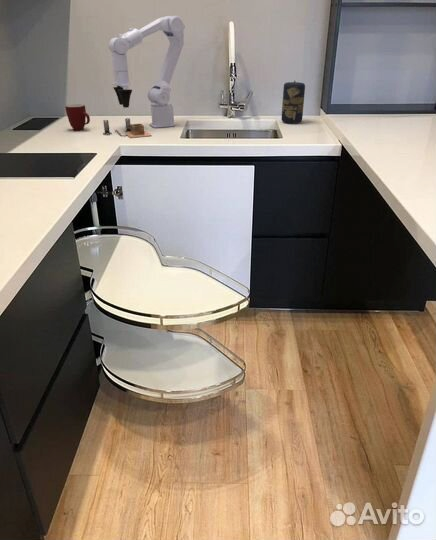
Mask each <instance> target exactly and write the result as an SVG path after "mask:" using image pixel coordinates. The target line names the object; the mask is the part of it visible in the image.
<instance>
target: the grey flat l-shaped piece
mask: <svg viewBox="0 0 436 540" xmlns="http://www.w3.org/2000/svg"><path fill="white" fill-rule="evenodd" d="M114 132H115V133H116V132H117V133H118V134H119V135H120V136H124V137H128V135H126V134H123V135H122V134H121V133H120V132H119V131H118V130H117V129H116V130H115V129H114ZM117 133H116V134H117ZM118 134H117V135H118ZM119 135H118V136H119ZM120 136H119V137H120Z"/></svg>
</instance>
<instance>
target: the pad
mask: <svg viewBox="0 0 436 540" xmlns="http://www.w3.org/2000/svg"><path fill="white" fill-rule="evenodd" d="M124 135H128V136H127V137H128V138H129V139H137V138H146V137H147V138H148V137H152V134H151V133H149V132H148V131H147V130H144V134H143V135H133V134H132V133H131V132H125V133H124Z"/></svg>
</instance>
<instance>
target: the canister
mask: <svg viewBox="0 0 436 540" xmlns="http://www.w3.org/2000/svg"><path fill="white" fill-rule="evenodd" d="M282 92H283V93H282V103H281V104H282V107H281V121H282V122H283V123H285V124H298V123H299V124H300V123H302V121H303V115H304V104H305V103H304V102H305V92H306V84H305V83H303V82H300V81H298V82H297V81H296V80H294V81H293V82H292V81H291V82H290V81H289V82H285V83H284V84H283V91H282Z"/></svg>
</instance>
